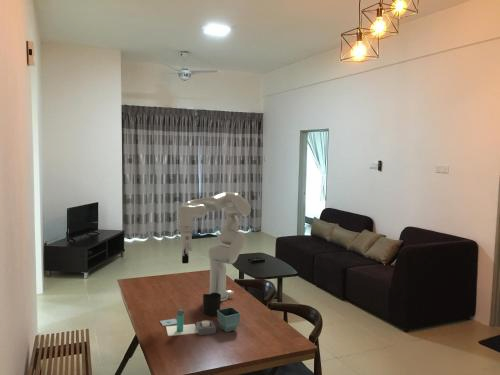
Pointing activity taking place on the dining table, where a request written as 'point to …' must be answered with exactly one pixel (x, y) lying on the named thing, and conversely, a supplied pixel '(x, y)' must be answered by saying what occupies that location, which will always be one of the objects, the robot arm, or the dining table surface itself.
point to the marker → (180, 320)
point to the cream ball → (205, 323)
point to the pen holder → (211, 304)
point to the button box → (205, 328)
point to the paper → (186, 330)
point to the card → (168, 322)
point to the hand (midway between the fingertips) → (185, 262)
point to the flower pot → (228, 318)
